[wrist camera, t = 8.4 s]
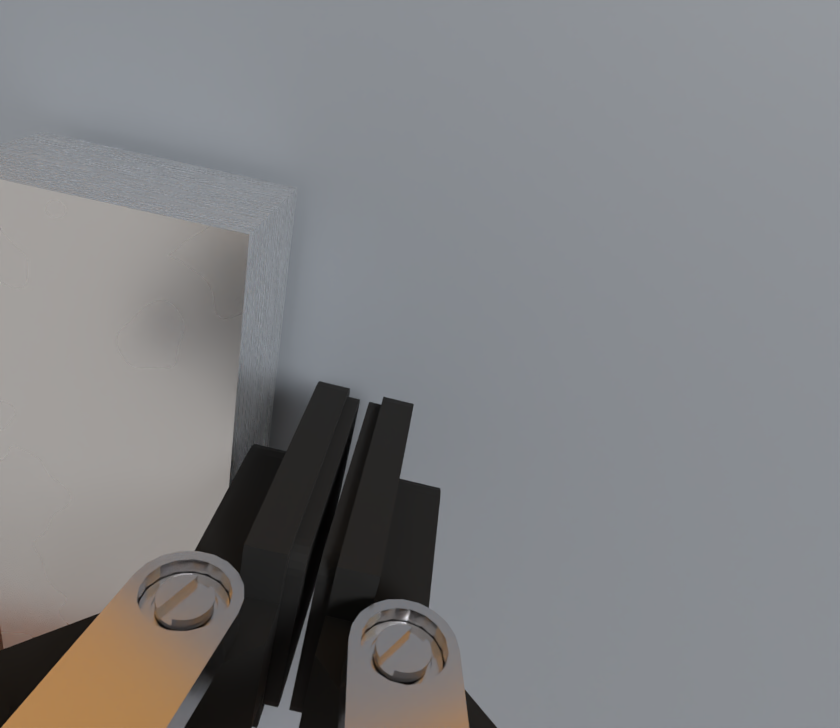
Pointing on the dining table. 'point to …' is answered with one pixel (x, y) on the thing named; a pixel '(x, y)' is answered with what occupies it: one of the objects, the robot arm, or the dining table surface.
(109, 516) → the steel link
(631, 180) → the slate board
